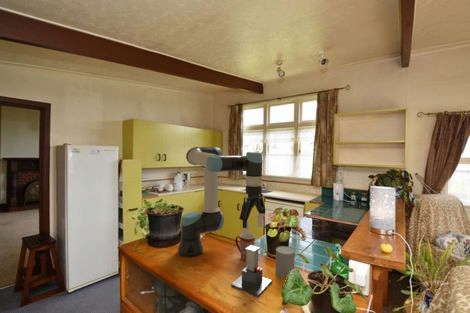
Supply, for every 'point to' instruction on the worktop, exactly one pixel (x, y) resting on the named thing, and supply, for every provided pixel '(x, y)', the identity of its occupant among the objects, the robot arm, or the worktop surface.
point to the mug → (245, 244)
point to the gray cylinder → (284, 260)
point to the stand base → (252, 282)
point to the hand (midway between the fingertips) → (253, 230)
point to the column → (252, 258)
